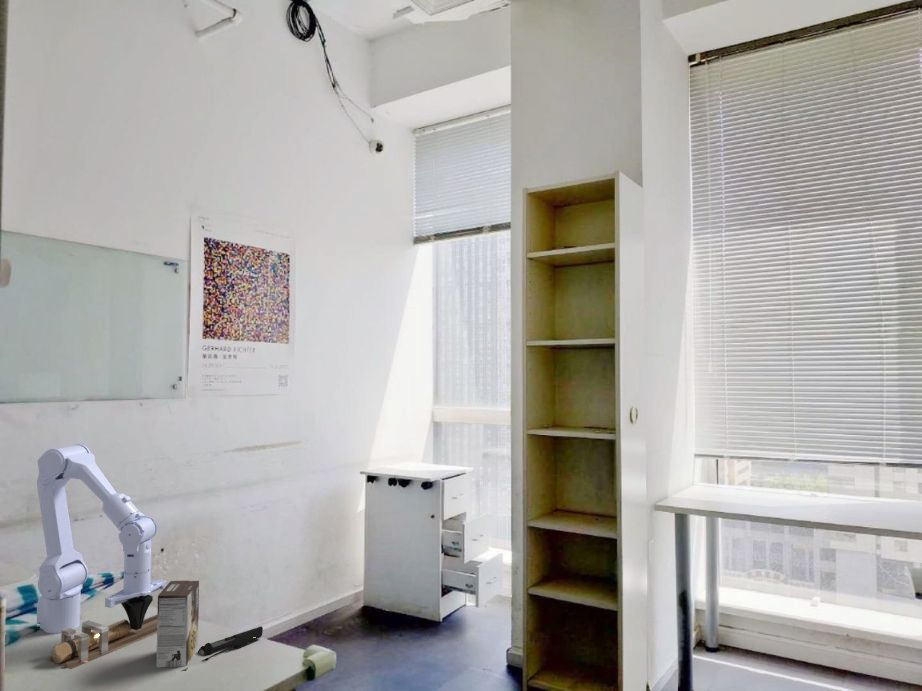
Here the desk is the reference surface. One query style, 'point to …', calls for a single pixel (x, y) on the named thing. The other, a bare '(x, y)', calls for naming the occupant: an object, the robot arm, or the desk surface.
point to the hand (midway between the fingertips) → (136, 628)
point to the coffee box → (177, 623)
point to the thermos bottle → (89, 641)
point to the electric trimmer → (230, 642)
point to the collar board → (102, 641)
